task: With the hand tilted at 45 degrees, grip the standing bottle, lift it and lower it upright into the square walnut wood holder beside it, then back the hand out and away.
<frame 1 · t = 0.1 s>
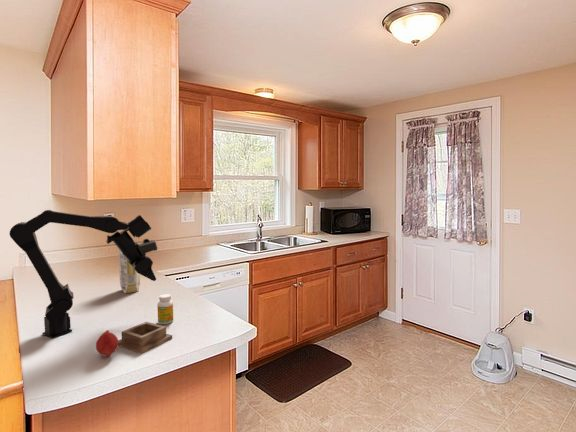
hand: (152, 277, 134), 15 cm above the table, tool tilted 35°, fingers open, 9 cm apart
juice carton: (130, 290, 168), on the table
bottle holder: (144, 341, 113), on the table
onion: (107, 357, 103), on the table
supplement bottle: (165, 322, 129), on the table
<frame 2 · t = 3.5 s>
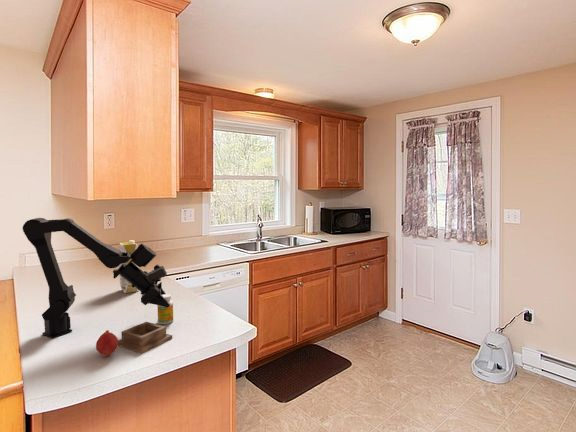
hand: (169, 303, 129), 7 cm above the table, tool tilted 45°, fingers closed on supplement bottle, 5 cm apart
supplement bottle: (165, 322, 129), on the table, touching gripper
everything else where it was.
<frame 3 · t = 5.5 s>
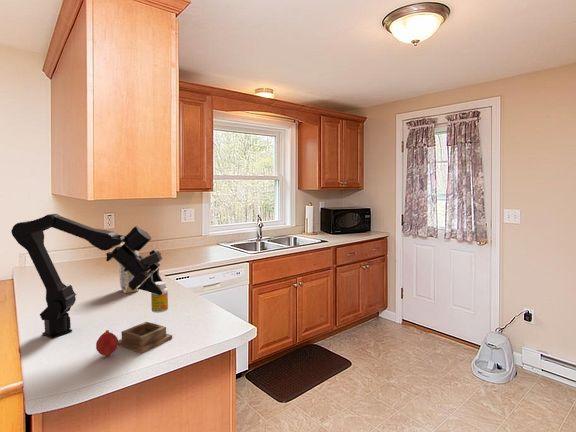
hand: (163, 291, 122), 13 cm above the table, tool tilted 45°, fingers closed on supplement bottle, 5 cm apart
supplement bottle: (159, 310, 123), point 6 cm above the table, touching gripper
everything else where it was.
when the fingers open (9 cm above the table, at t = 7.7 s): supplement bottle drops 1 cm, resting on bottle holder.
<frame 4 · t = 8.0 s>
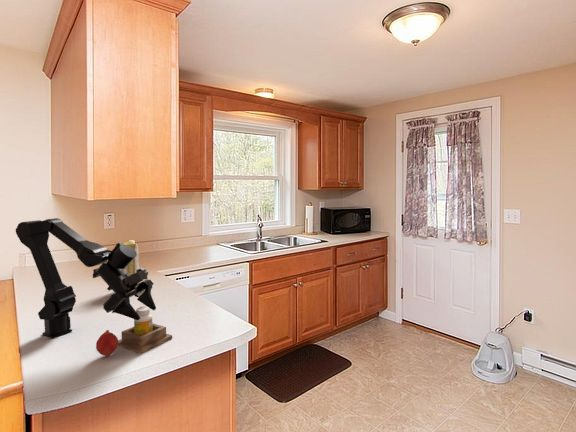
hand: (147, 314, 112), 9 cm above the table, tool tilted 45°, fingers open, 8 cm apart
supplement bottle: (143, 338, 113), point 1 cm above the table, touching bottle holder
everything else where it was.
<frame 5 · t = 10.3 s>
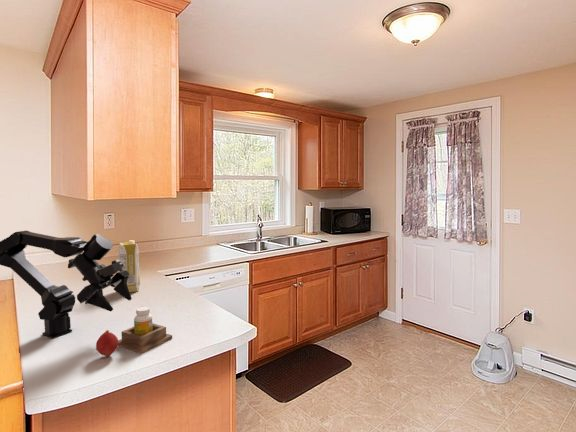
hand: (121, 304, 115), 11 cm above the table, tool tilted 45°, fingers open, 9 cm apart
nothing on the table moved.
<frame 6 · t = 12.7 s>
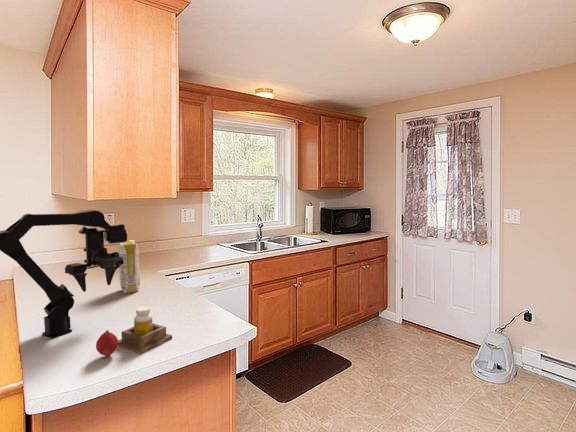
hand: (97, 288, 127), 13 cm above the table, tool pointing down, fingers open, 9 cm apart
nothing on the table moved.
at the end: supplement bottle 0.1 cm off-centre on the bottle holder, point 0.8 cm above the bottle holder's base; supplement bottle tilted 0°; the gripper is holding nothing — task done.
